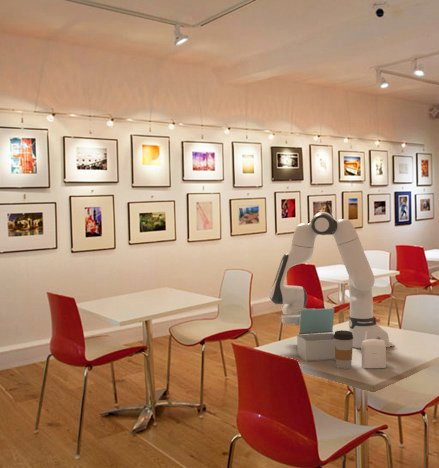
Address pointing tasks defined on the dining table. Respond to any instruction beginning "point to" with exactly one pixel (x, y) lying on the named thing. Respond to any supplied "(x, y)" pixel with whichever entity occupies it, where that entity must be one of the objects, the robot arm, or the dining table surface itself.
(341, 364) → the coffee cup
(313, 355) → the white box
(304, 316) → the cover
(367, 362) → the photo printer
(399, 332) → the dining table surface
